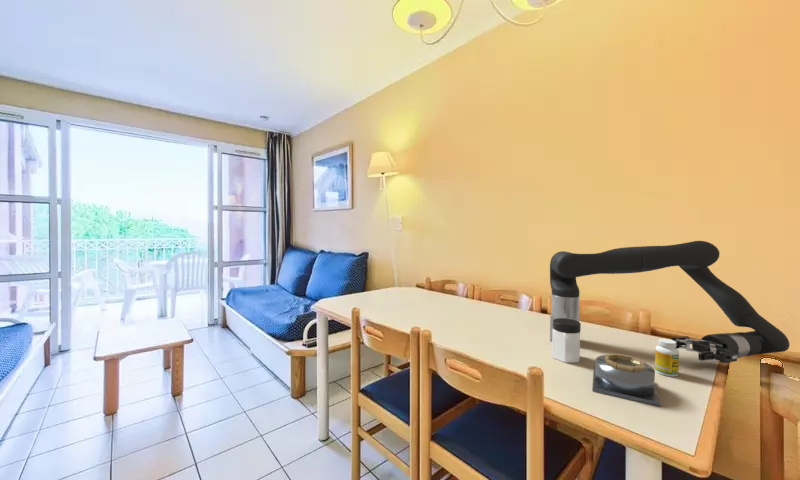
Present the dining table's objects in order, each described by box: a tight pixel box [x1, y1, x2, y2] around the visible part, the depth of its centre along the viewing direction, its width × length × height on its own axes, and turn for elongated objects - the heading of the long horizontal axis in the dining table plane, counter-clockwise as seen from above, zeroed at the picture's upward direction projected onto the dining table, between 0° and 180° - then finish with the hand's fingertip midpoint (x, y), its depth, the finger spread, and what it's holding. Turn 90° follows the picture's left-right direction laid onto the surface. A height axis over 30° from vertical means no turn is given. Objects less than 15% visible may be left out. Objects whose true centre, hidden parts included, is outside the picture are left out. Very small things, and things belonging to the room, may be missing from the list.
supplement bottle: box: [654, 338, 680, 378], centre depth 95 cm, size 5×5×10 cm
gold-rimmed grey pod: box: [591, 353, 661, 407], centre depth 87 cm, size 14×14×7 cm
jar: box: [551, 318, 582, 364], centre depth 106 cm, size 9×8×12 cm
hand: (683, 350), depth 96 cm, fingers open, 8 cm apart
